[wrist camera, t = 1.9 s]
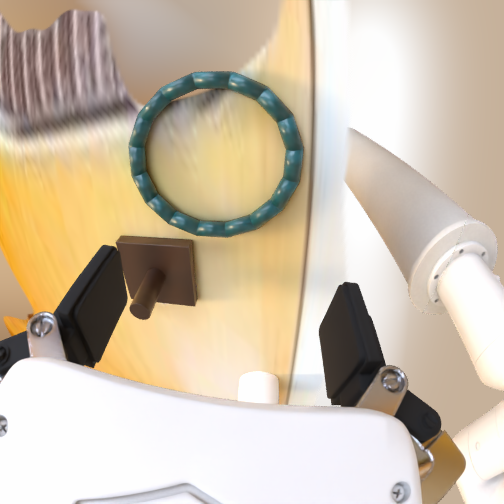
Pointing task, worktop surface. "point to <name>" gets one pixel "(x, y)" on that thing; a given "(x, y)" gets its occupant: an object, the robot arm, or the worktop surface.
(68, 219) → the worktop surface
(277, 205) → the ring
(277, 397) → the cylindrical container
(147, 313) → the stand
